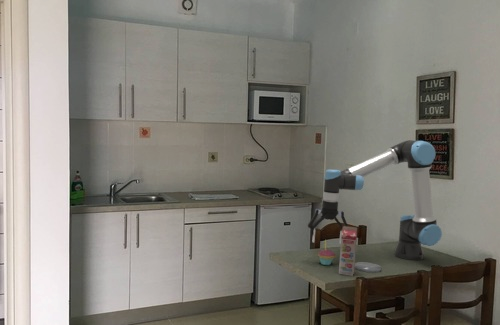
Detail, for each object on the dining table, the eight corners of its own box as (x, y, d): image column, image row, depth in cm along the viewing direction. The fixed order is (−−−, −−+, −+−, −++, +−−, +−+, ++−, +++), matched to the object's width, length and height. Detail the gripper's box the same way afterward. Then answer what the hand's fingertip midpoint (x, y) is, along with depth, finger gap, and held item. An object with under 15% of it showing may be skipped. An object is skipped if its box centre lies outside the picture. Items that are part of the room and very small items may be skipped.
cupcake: (314, 261, 232) (315, 238, 232) (328, 260, 236) (330, 237, 235) (323, 266, 225) (325, 242, 224) (338, 265, 228) (339, 242, 227)
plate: (377, 265, 233) (377, 262, 233) (384, 273, 220) (384, 270, 220) (351, 263, 233) (351, 261, 233) (356, 271, 220) (357, 269, 220)
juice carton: (340, 269, 221) (343, 224, 220) (354, 271, 220) (357, 226, 218) (338, 273, 215) (342, 227, 214) (353, 275, 213) (356, 229, 212)
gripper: (354, 201, 231) (350, 243, 233) (304, 197, 232) (301, 239, 233) (357, 203, 224) (353, 246, 225) (306, 199, 224) (302, 242, 226)
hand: (326, 242), depth 229 cm, fingers open, 13 cm apart
